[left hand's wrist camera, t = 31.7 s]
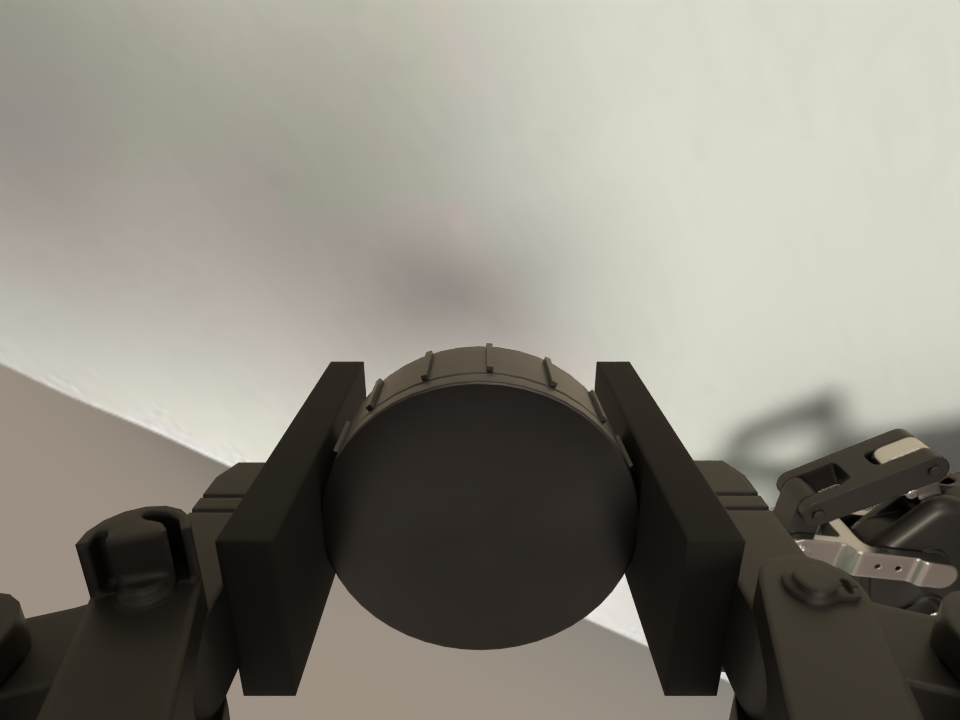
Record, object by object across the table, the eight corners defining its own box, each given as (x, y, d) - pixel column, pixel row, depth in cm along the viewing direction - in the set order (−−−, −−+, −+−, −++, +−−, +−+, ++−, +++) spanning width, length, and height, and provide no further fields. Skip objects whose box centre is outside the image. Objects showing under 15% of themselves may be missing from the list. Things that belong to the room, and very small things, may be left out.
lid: (611, 325, 11) (634, 358, 9) (628, 573, 13) (649, 635, 11) (309, 364, 11) (281, 403, 9) (370, 601, 13) (355, 667, 11)
